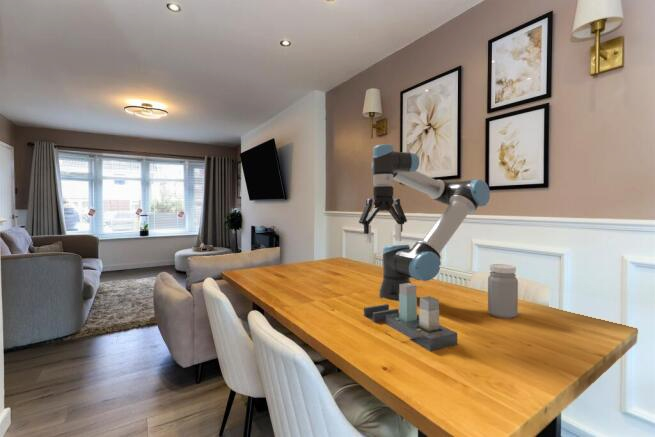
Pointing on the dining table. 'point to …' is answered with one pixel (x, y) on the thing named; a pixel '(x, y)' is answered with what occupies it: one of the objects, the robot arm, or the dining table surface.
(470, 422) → the dining table surface
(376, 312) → the holster
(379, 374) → the dining table surface
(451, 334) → the port block
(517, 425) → the dining table surface
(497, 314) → the jar
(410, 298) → the plug
